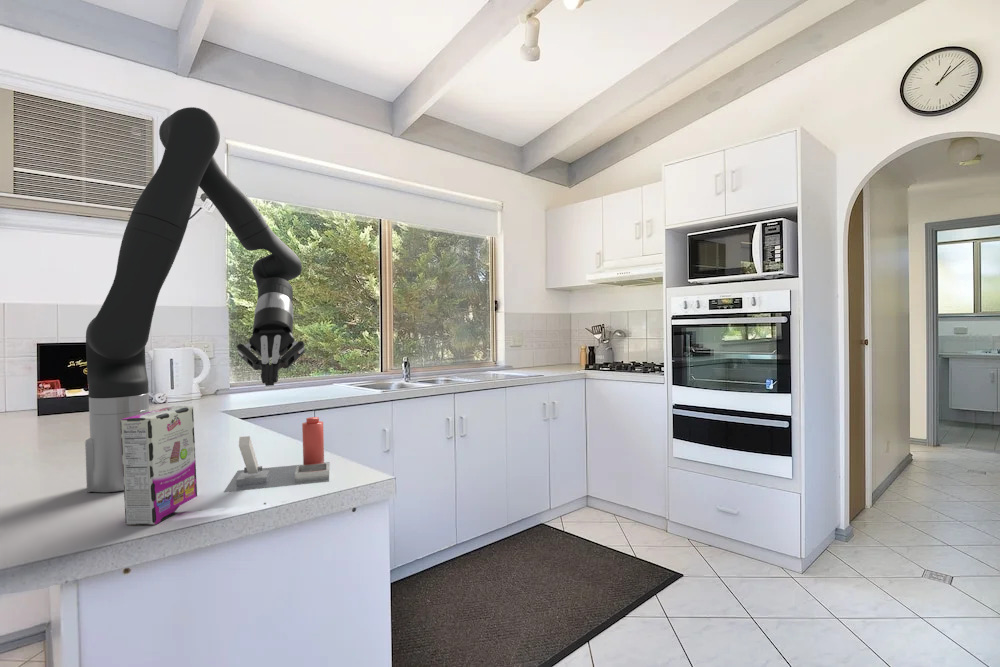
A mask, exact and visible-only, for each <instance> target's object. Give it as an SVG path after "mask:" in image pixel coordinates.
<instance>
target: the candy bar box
mask: <svg viewBox="0 0 1000 667" xmlns="http://www.w3.org/2000/svg"><path fill="white" fill-rule="evenodd" d="M120 422H121V441H122V461H123V481H124V490H123V495H124V496H123V497H124V515H125V518H124V520H125V526H153V525H157V524H159V523H161V522H163V521H165V520H166V519H167V518H168V519H169V518H170V517H172V516H174V515H175V514H177V513H178V512H177V510H178V508H179V507H180V506H182V505H184V504H185V503H187V502H189V501H191V500H193V499H194V498H196V497H198V487H197V486H198V485H197V482H198V481H197V468H196V467H197V465H196V464H197V463H196V444H195V443H196V442H195V440H196V439H195V420H194V406H189V405H188V406H182V405H181V406H179V405H178V406H166V407H162V408H158V409H155V410H151V411H150V410H149V412H147V413H143V414H139V415H135V416H131V417H128V418H124V419H121V420H120Z"/></svg>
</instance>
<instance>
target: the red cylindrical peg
mask: <svg viewBox="0 0 1000 667" xmlns="http://www.w3.org/2000/svg"><path fill="white" fill-rule="evenodd" d="M305 419H306V421H305V422H302V424H301V427H302V429H301V430H302V461H303V462H302V465H308V464H319V463H325V448H324V446H325V445H324V444H325V442H324V441H325V440H324V439H325V438H324V421H321V420H320V418H319V416H311V417H307V418H305Z"/></svg>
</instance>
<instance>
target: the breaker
mask: <svg viewBox="0 0 1000 667" xmlns="http://www.w3.org/2000/svg"><path fill="white" fill-rule="evenodd" d="M238 447H239V450H240V454H241V456H242V459H243V462H244V465H245V467H244V468H243V470H244V473H248V474H253V473H258V472H261V471H262V468H263V465H259V463H258V460H257V456H256V452H255V449H254V446H253V443H252V439H251V436H249V435H248V436H246V435H245V436H239V440H238Z"/></svg>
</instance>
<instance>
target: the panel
mask: <svg viewBox="0 0 1000 667" xmlns="http://www.w3.org/2000/svg"><path fill="white" fill-rule="evenodd" d="M328 482H330V461H328V462H324V463H319V464H308V465H303V464H296V465H283V466H274V467H273V466H272V467H262V471H261V472H258V473H253V474H248V473H244V469H241V470H239V469H238V470H237V471H236V472H235V473H234V475H233V476H232V478H231V479H230V482H229V483H228V485H227V486H226V488H225V489H224V490H223V493H230V492H231V493H232V492H238V491H239V492H240V491H249V490H251V491H252V490H257V489H259V490H260V489H269V488H279V487H287V486H288V487H289V486H297V485H309V484H318V483H319V484H320V483H328Z"/></svg>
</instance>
